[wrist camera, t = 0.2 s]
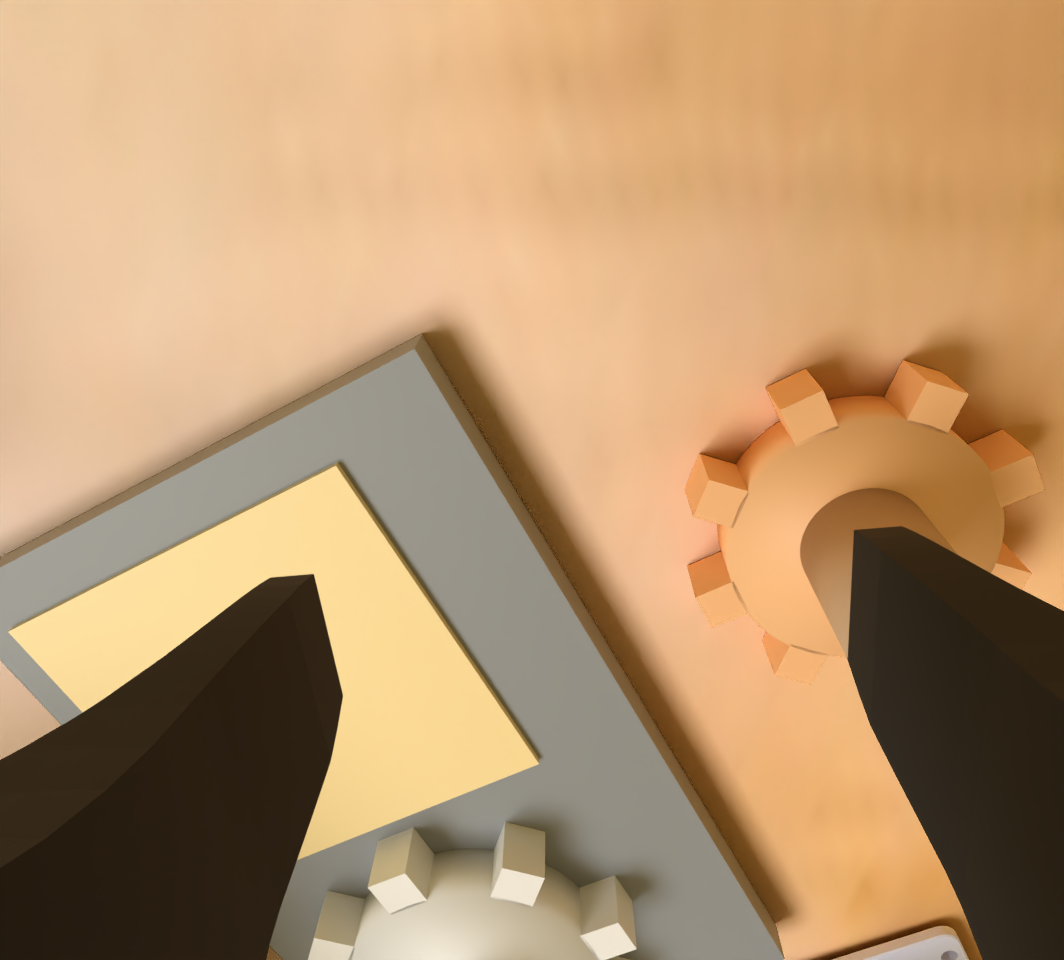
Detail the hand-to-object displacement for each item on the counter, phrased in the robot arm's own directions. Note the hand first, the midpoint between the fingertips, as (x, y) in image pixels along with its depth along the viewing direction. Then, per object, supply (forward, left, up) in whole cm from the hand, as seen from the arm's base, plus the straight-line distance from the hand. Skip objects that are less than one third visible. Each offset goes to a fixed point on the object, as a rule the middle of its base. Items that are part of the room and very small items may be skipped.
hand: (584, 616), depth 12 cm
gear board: (-8, +10, -10) cm, 16 cm away
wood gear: (-6, -4, -10) cm, 13 cm away
